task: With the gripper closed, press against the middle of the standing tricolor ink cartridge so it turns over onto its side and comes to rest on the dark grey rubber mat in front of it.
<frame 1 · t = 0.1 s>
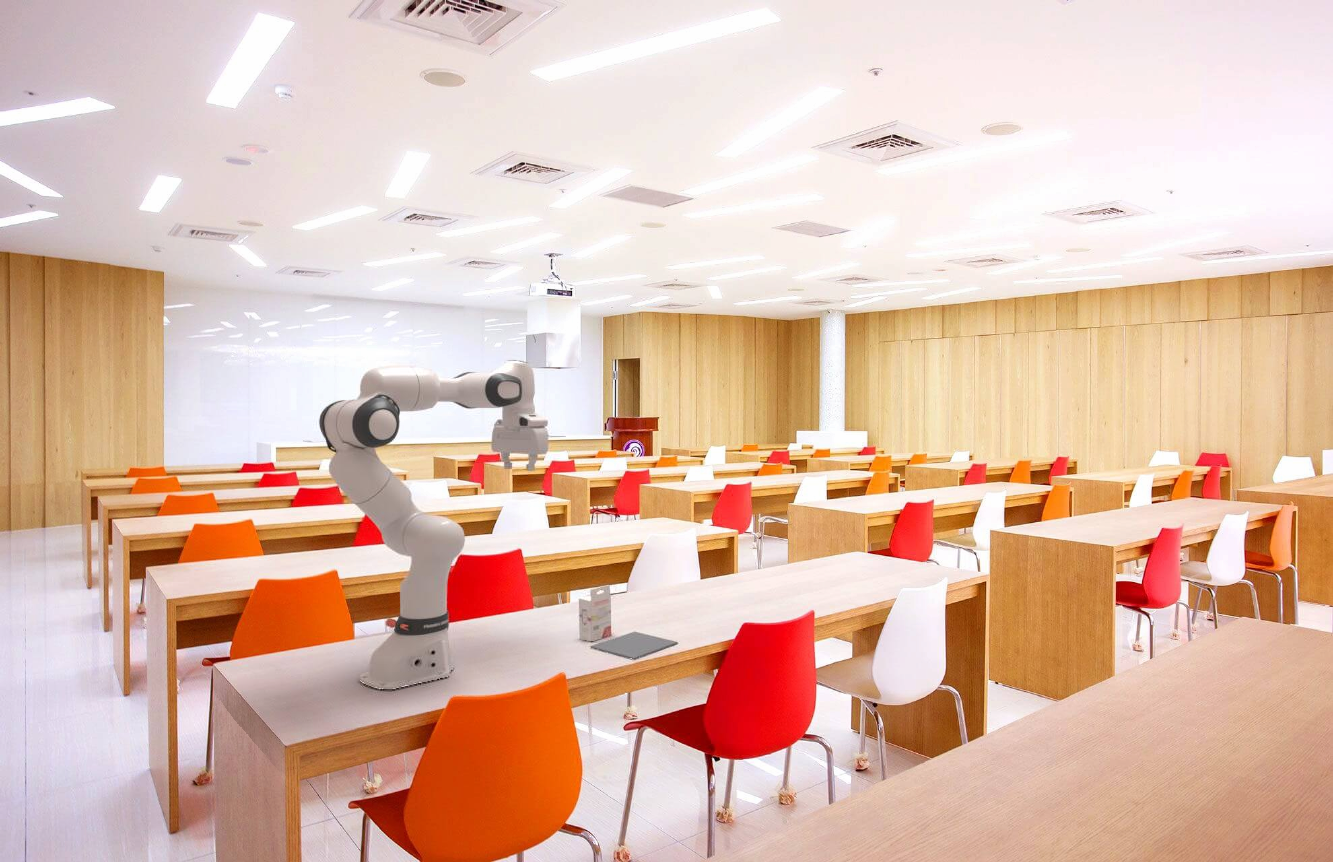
hand: (519, 469, 224), 48 cm above the table, tool pointing down, fingers open, 8 cm apart
rubber mat: (634, 645, 222), on the table
ink cartridge box: (595, 638, 230), on the table
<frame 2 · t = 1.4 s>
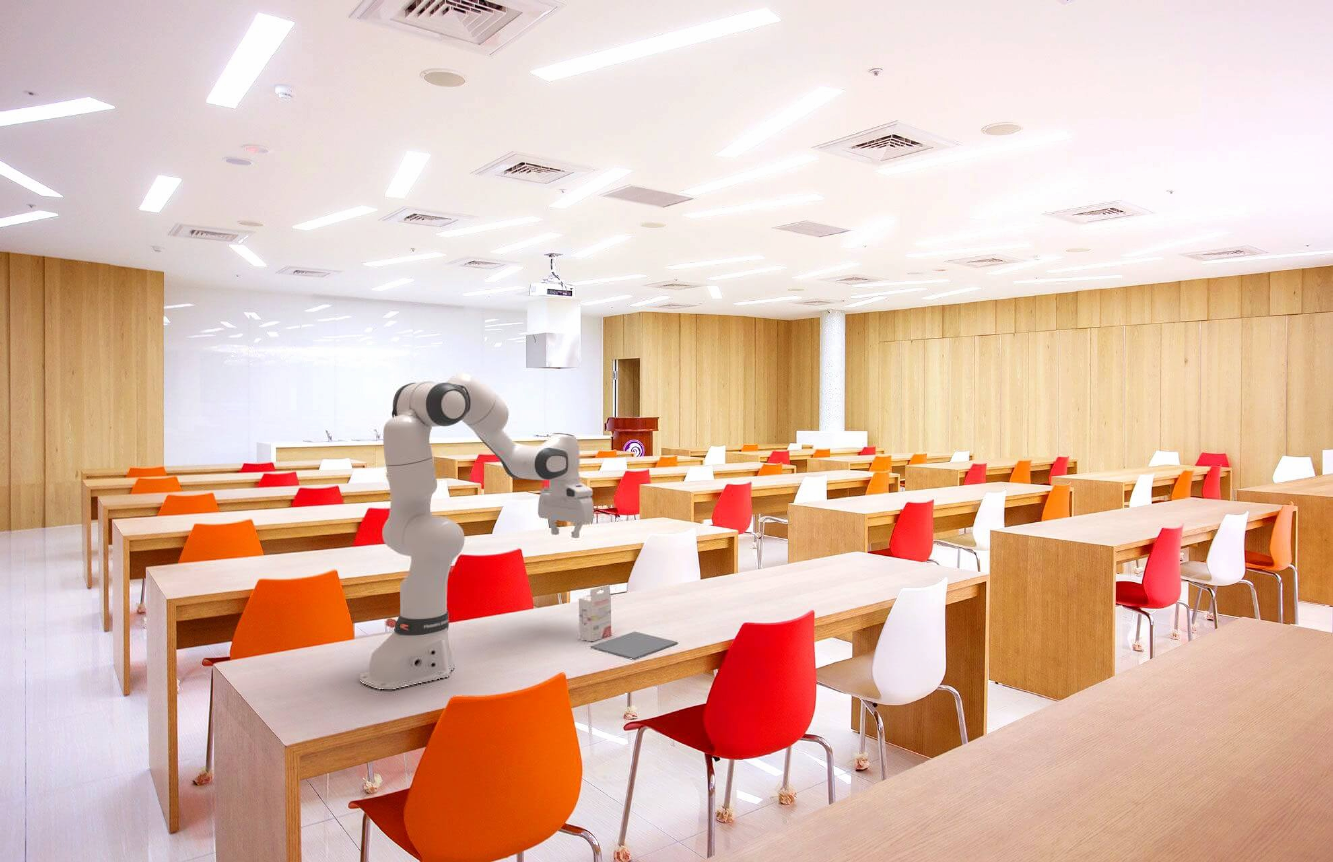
hand: (565, 536, 237), 28 cm above the table, tool pointing down, fingers open, 7 cm apart
nothing on the table moved.
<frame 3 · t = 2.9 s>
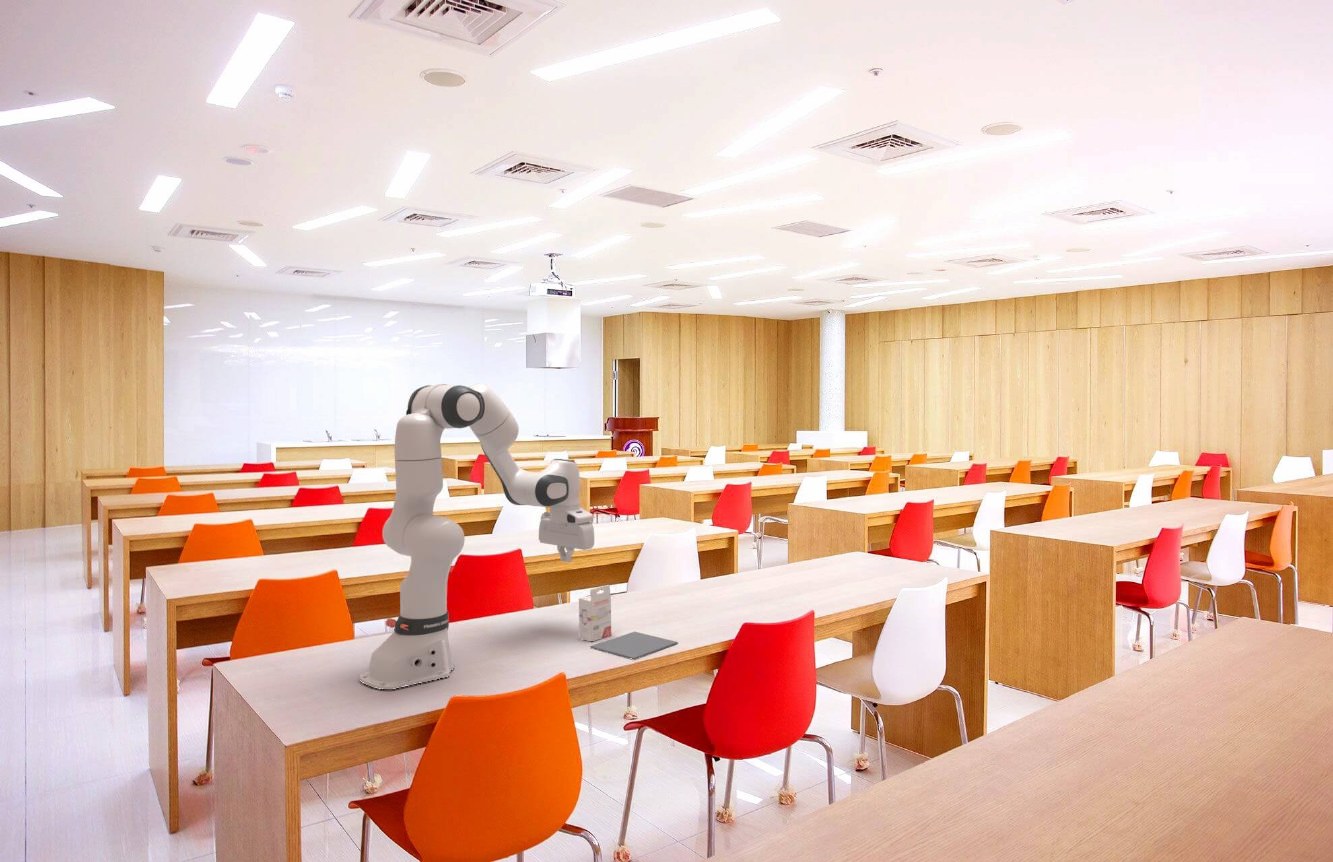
hand: (566, 561, 237), 20 cm above the table, tool pointing down, fingers closed
nothing on the table moved.
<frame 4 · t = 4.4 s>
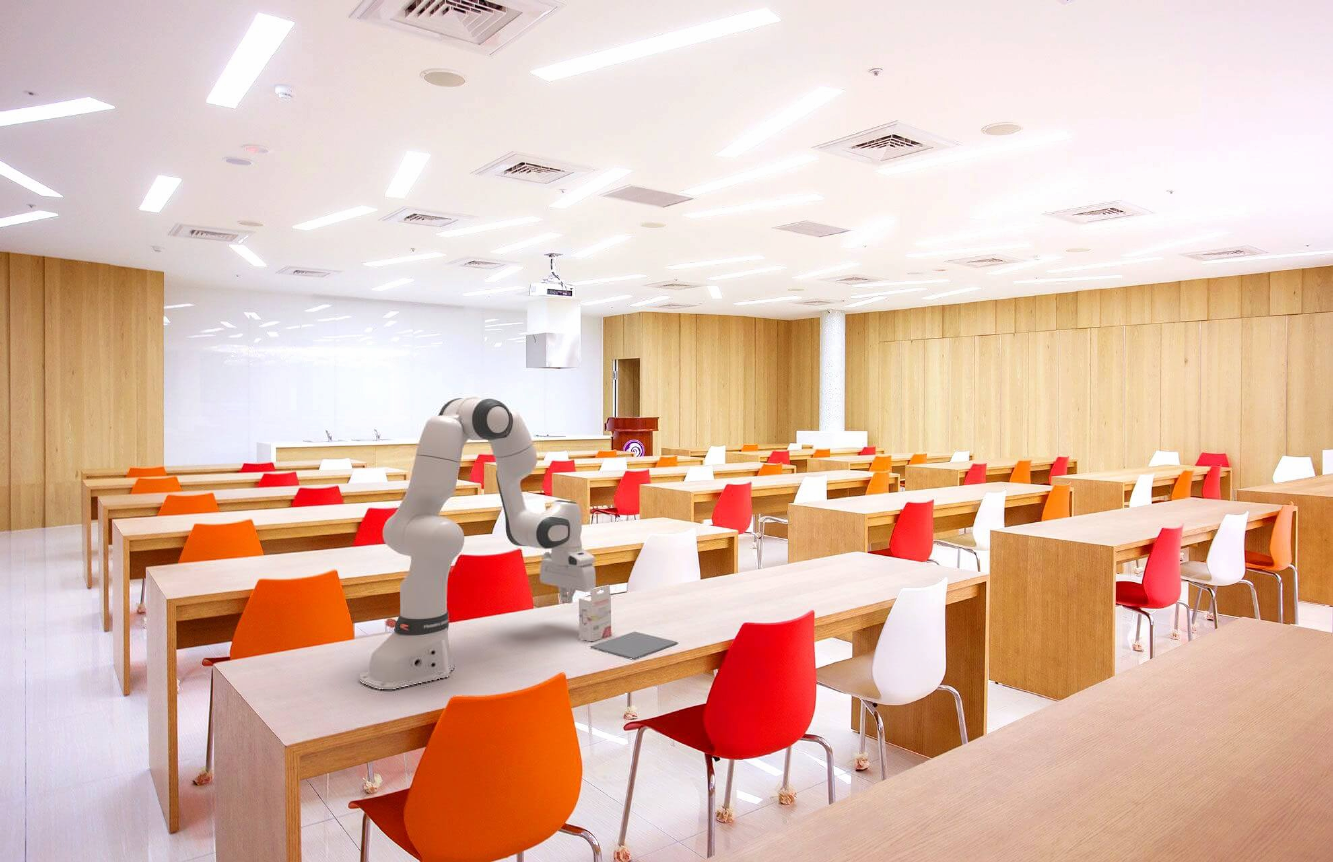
hand: (566, 602, 237), 8 cm above the table, tool pointing down, fingers closed
nothing on the table moved.
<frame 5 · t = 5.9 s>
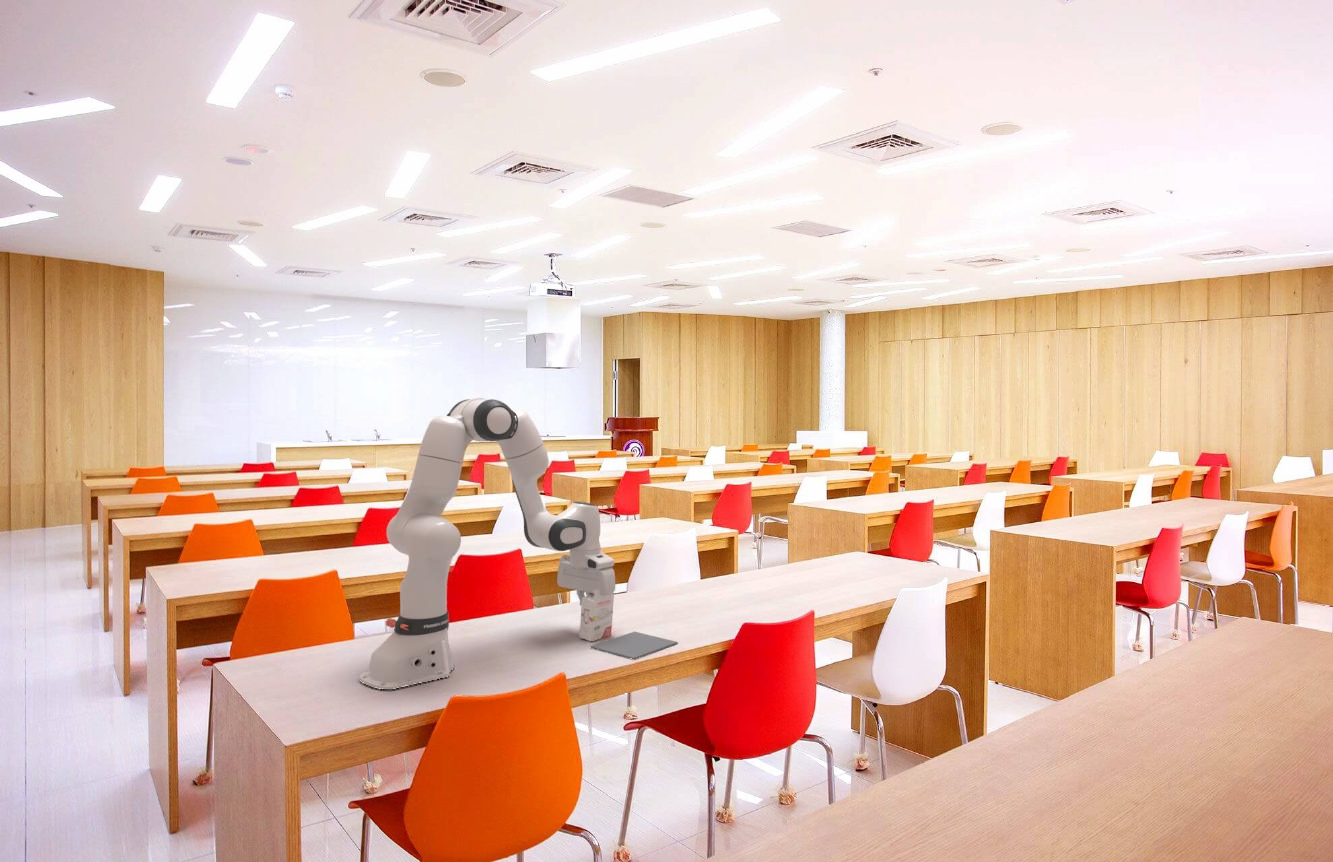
hand: (585, 606, 232), 8 cm above the table, tool pointing down, fingers closed
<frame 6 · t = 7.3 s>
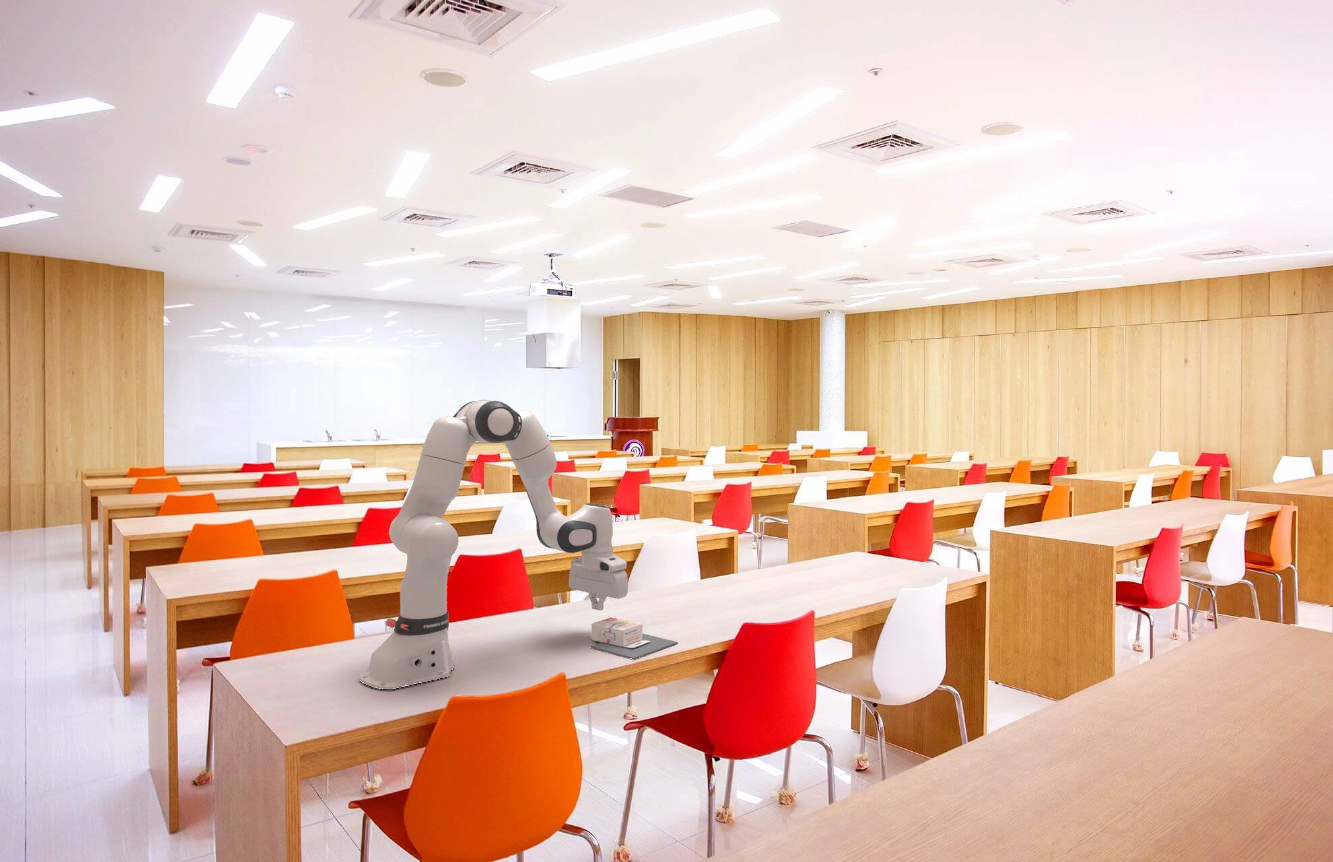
hand: (597, 609, 229), 8 cm above the table, tool pointing down, fingers closed
ink cartridge box: (600, 628, 229), point 3 cm above the table, touching rubber mat
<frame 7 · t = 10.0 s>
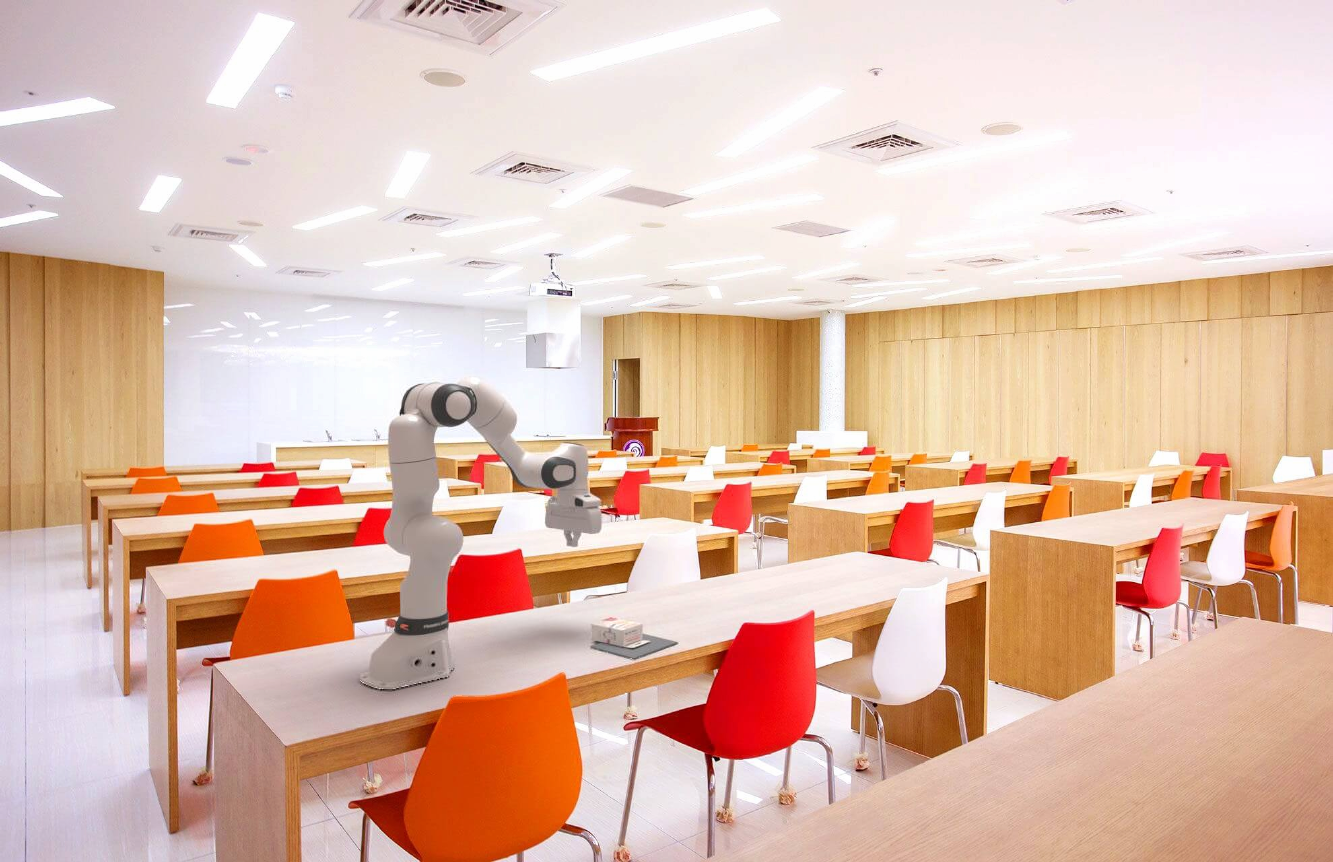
hand: (572, 546, 235), 25 cm above the table, tool pointing down, fingers closed
nothing on the table moved.
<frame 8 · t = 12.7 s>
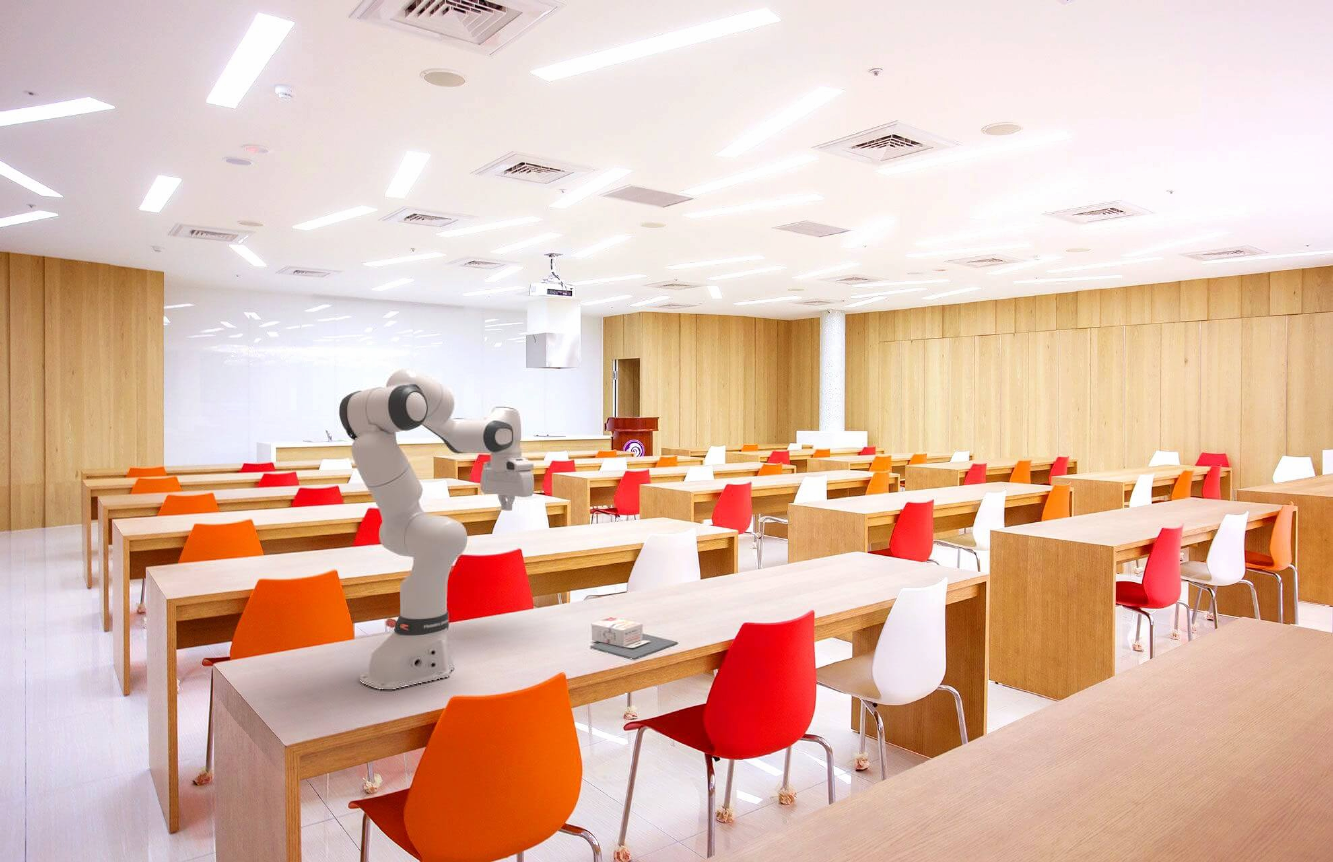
hand: (506, 510, 236), 35 cm above the table, tool pointing down, fingers closed
nothing on the table moved.
at the end: ink cartridge box tilted 90°; ink cartridge box touching rubber mat; the gripper is holding nothing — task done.
